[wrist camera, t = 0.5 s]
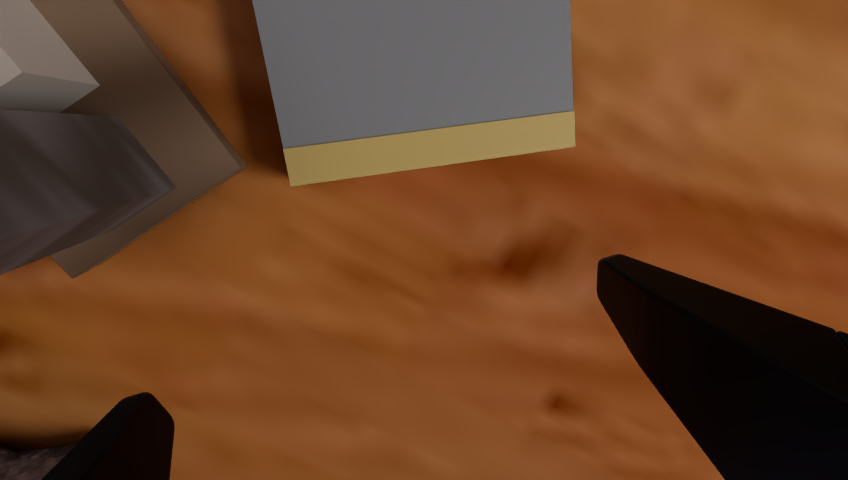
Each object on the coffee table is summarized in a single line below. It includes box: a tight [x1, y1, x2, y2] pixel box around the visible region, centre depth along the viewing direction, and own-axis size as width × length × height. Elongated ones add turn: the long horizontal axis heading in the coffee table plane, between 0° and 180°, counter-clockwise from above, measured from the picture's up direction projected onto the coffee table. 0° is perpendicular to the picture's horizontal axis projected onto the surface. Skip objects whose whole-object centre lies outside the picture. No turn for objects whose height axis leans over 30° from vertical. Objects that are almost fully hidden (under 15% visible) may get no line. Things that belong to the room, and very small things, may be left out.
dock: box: [252, 0, 575, 186], centre depth 18 cm, size 14×13×3 cm
